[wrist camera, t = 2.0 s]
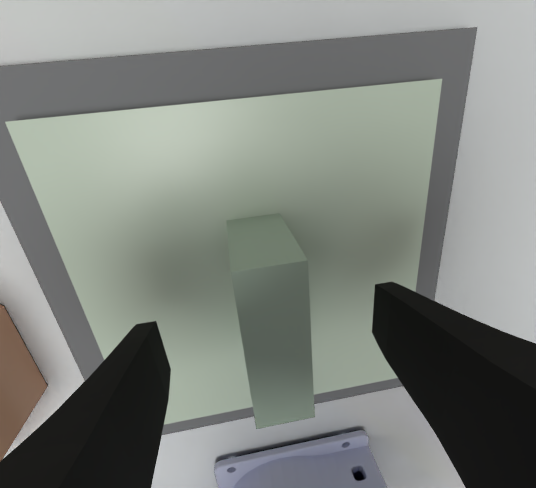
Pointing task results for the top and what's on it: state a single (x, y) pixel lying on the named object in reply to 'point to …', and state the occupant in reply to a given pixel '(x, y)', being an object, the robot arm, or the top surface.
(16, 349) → the bowl
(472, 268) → the top surface
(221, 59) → the mat
